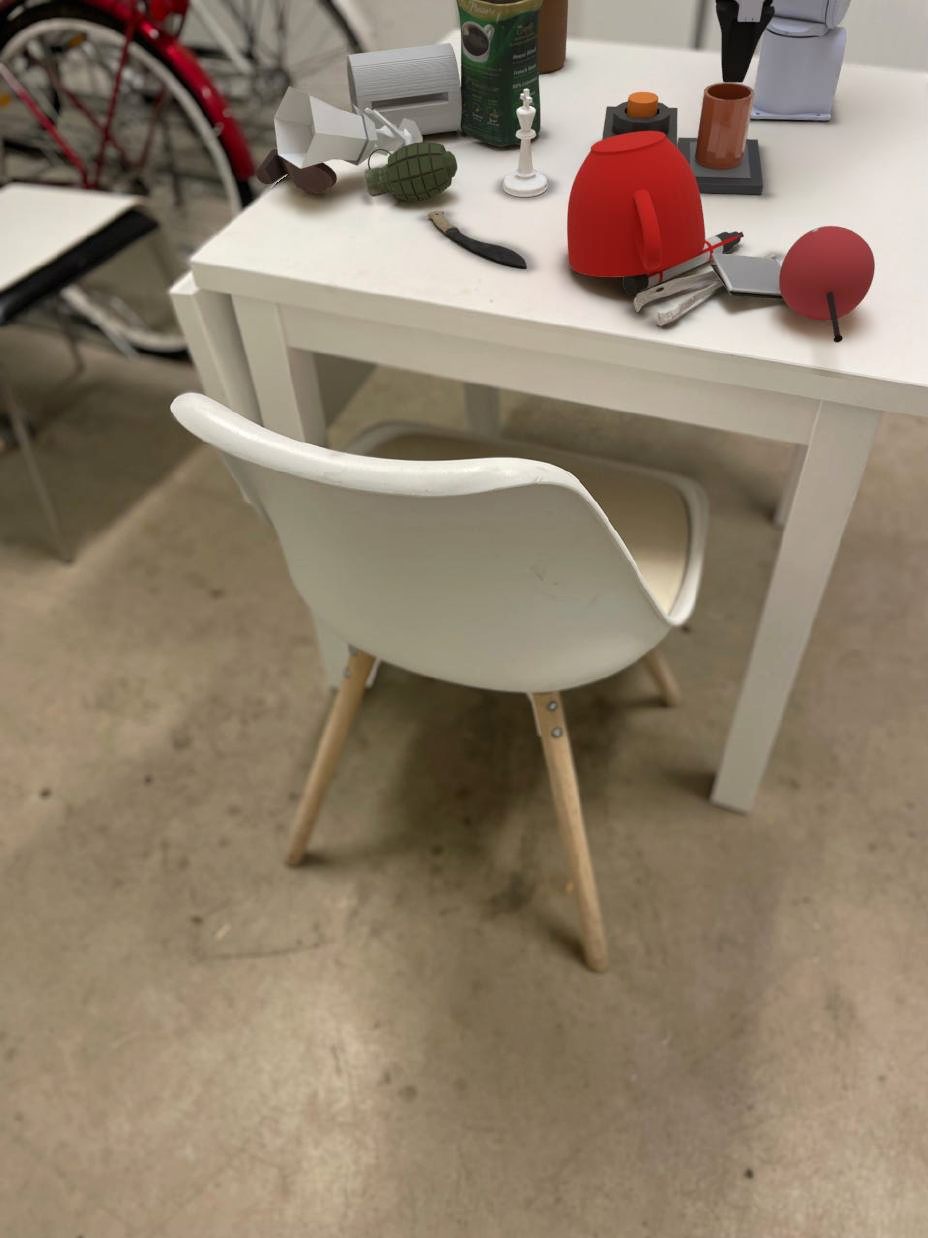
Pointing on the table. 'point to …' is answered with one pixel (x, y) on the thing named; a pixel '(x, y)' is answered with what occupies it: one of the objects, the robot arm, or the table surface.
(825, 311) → the lollipop
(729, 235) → the marker
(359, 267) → the table surface
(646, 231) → the ceramic cup
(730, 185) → the tray
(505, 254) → the machete
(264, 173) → the heeled mule
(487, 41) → the coffee jar
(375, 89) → the grey rounded slotted piece
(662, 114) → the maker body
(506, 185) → the chess piece
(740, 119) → the clay cup
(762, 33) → the robot arm
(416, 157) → the grenade
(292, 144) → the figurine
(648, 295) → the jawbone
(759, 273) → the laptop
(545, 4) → the mug
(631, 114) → the button
